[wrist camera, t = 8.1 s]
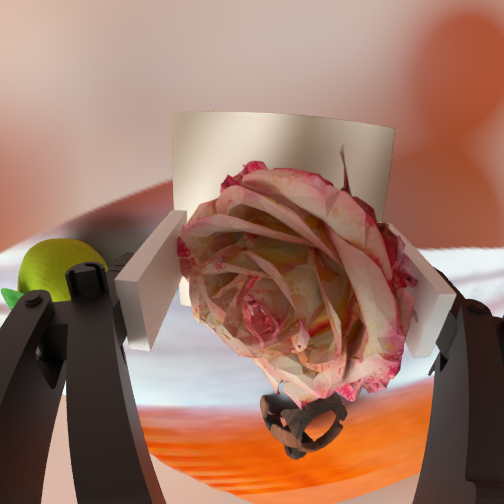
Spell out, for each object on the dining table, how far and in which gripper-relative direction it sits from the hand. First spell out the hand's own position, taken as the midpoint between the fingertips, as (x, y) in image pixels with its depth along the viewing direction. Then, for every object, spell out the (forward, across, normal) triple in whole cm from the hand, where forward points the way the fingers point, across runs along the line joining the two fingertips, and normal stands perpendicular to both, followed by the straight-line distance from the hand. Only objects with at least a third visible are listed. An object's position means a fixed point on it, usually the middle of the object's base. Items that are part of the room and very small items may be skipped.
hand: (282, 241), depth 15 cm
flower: (0, 0, 0) cm, 0 cm away
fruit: (+11, +18, +8) cm, 23 cm away
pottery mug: (+11, -5, +27) cm, 30 cm away
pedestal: (+11, 0, 0) cm, 11 cm away
